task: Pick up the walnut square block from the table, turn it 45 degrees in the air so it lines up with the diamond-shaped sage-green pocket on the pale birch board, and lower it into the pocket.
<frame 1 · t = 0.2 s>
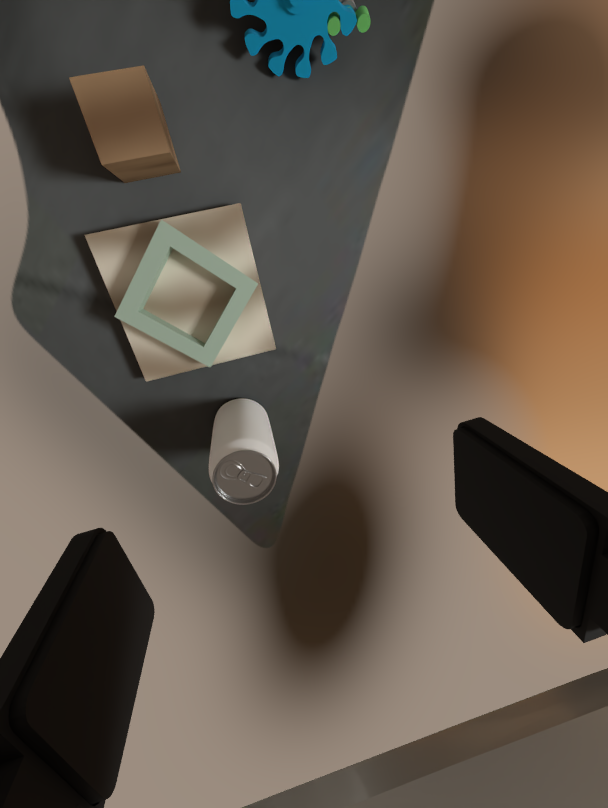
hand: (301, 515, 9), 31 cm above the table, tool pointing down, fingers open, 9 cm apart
pocket: (189, 298, 32), on the board, point 2 cm above the table
can: (241, 421, 41), on the table
gear: (293, 27, 29), on the table
block: (142, 144, 30), on the table
board: (191, 296, 35), on the table
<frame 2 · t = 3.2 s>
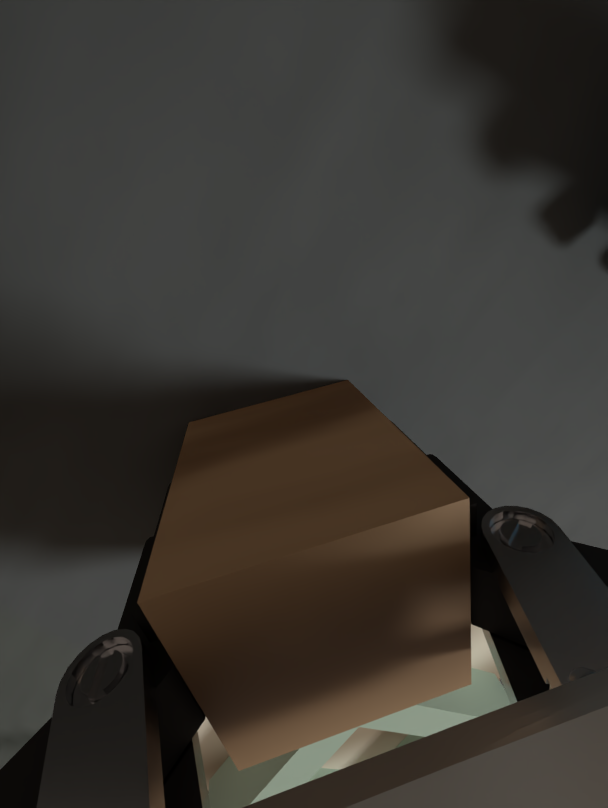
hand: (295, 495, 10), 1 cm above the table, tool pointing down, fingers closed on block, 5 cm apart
pocket: (366, 754, 14), on the board, point 2 cm above the table
block: (288, 467, 11), on the table, touching gripper
board: (347, 687, 17), on the table
when the fingers open (6 cm above the table, at t = 8.4 s): block drops 3 cm, resting on board.
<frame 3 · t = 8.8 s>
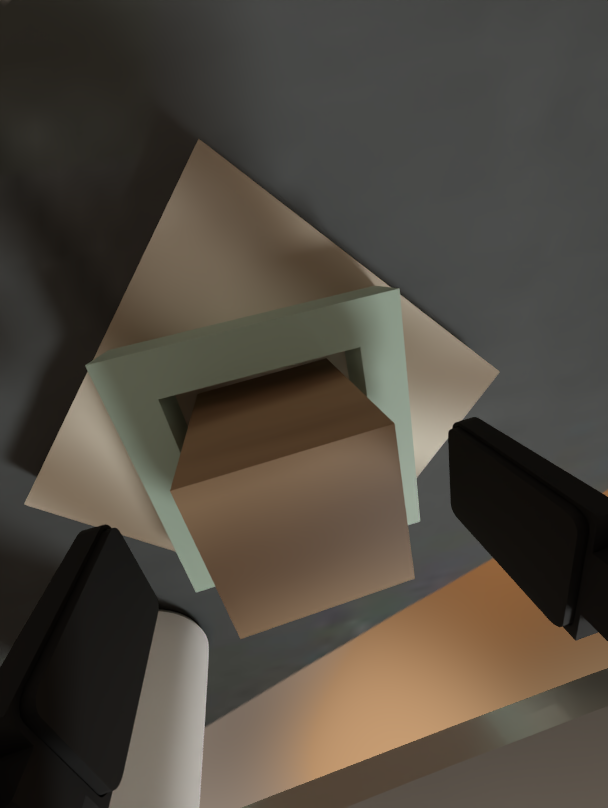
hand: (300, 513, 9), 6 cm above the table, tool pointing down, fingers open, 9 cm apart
pocket: (281, 445, 13), on the board, point 2 cm above the table
can: (149, 643, 19), on the table
block: (279, 432, 14), point 1 cm above the table, touching board
board: (274, 418, 15), on the table
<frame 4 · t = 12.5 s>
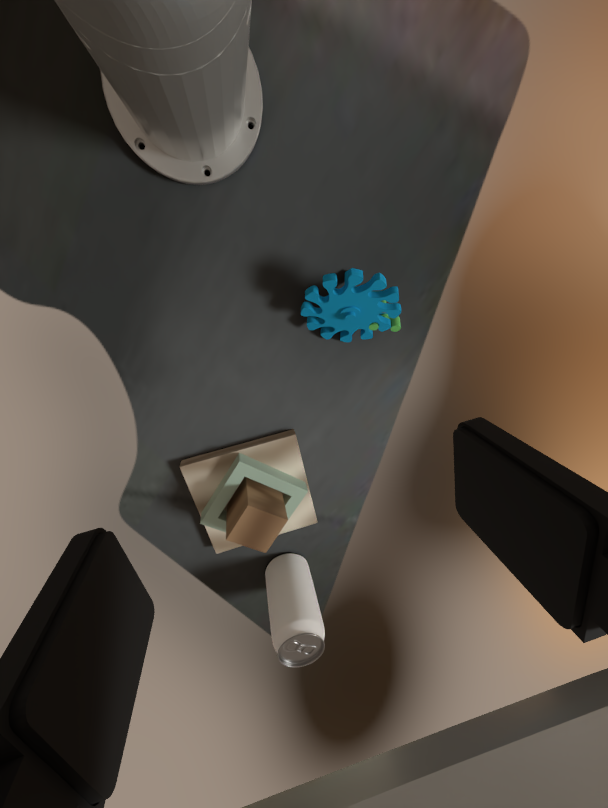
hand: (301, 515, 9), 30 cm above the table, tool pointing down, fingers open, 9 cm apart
pocket: (254, 502, 42), on the board, point 2 cm above the table
can: (286, 567, 51), on the table
gear: (343, 307, 38), on the table
block: (254, 496, 43), point 1 cm above the table, touching board
board: (253, 490, 44), on the table
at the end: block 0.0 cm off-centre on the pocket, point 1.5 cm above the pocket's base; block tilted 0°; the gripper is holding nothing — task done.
